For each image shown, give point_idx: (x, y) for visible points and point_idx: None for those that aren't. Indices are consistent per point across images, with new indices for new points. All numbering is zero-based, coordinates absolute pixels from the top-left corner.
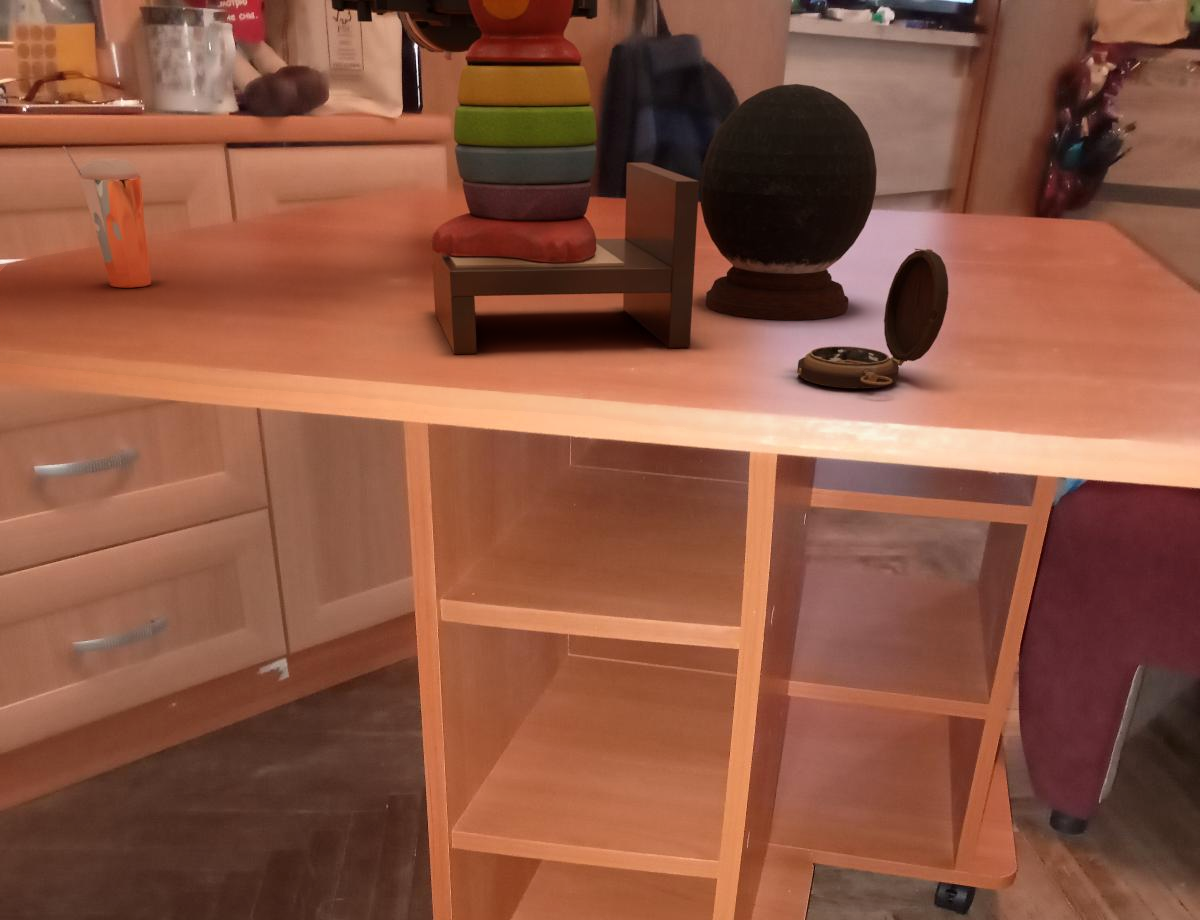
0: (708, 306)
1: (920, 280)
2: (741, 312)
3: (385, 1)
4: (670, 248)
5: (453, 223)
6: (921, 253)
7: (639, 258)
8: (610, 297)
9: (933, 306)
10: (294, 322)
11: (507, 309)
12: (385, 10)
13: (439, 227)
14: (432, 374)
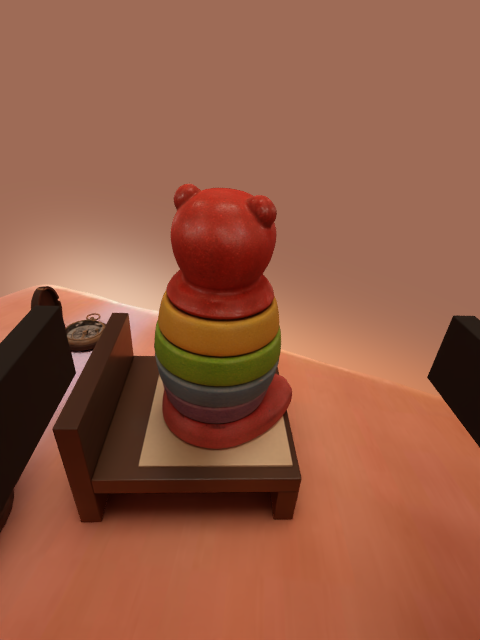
0: (5, 522)
1: (40, 303)
2: None
3: (434, 367)
4: (131, 351)
5: (276, 376)
6: (42, 290)
7: (137, 383)
8: (72, 612)
9: (58, 296)
10: (409, 495)
11: (219, 538)
12: (453, 409)
13: (286, 383)
14: (280, 365)
